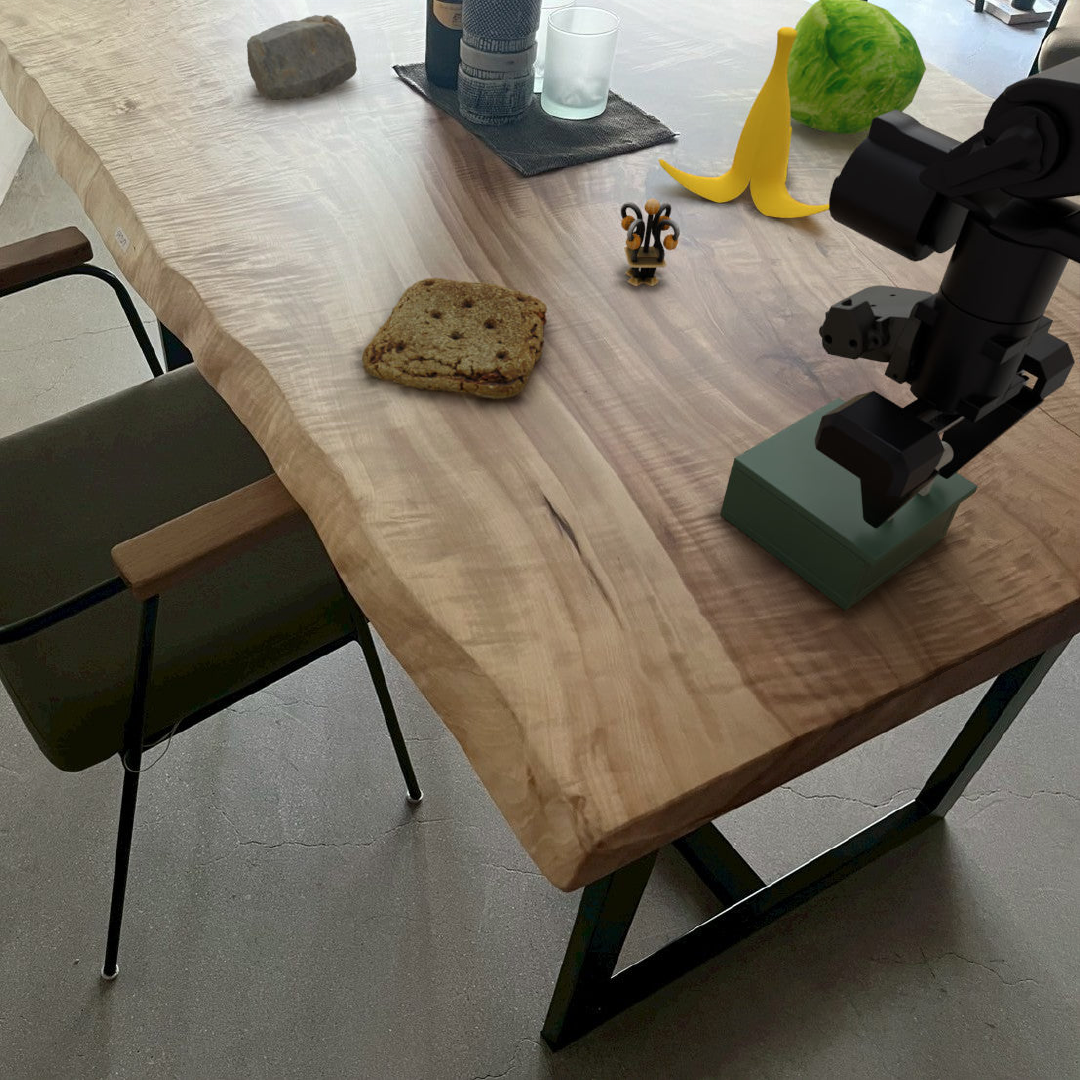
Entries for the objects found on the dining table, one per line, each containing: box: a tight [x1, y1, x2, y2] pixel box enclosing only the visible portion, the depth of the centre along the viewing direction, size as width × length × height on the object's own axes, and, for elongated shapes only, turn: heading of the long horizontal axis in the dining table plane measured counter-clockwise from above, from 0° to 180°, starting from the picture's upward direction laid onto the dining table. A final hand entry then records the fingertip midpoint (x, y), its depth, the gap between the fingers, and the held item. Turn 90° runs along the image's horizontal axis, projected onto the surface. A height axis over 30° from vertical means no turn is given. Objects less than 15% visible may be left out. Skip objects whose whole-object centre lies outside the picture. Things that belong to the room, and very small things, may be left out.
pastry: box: [361, 277, 548, 400], centre depth 88 cm, size 17×17×3 cm
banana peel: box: [658, 26, 829, 219], centre depth 105 cm, size 17×19×17 cm
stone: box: [246, 14, 358, 102], centre depth 121 cm, size 12×8×8 cm, turn 125°
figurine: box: [620, 198, 681, 287], centre depth 96 cm, size 5×5×8 cm
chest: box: [720, 465, 961, 611], centre depth 75 cm, size 12×12×5 cm
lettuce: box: [787, 0, 927, 136], centre depth 121 cm, size 15×20×14 cm
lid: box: [732, 397, 979, 566], centre depth 71 cm, size 12×12×5 cm
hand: (907, 498), depth 70 cm, fingers open, 8 cm apart
